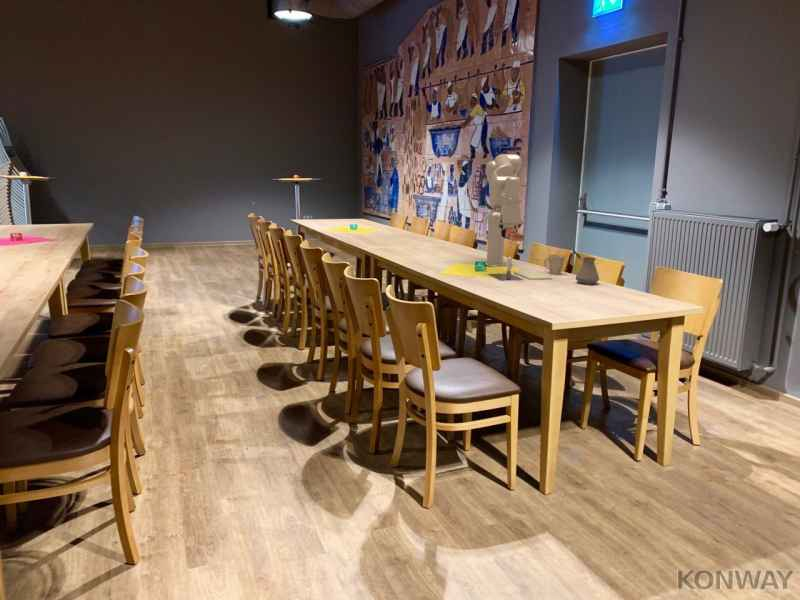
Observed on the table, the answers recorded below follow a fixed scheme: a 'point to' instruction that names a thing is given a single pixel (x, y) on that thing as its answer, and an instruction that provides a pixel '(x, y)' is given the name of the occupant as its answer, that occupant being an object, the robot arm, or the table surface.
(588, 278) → the coffee pot
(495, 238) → the robot arm
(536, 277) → the board
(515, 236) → the link
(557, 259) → the mug
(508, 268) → the stand
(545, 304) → the table surface
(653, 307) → the table surface
